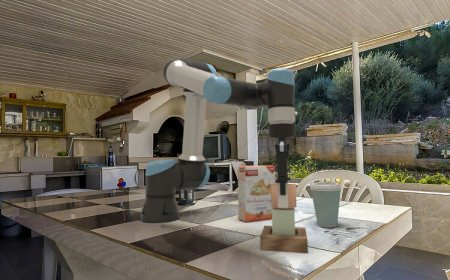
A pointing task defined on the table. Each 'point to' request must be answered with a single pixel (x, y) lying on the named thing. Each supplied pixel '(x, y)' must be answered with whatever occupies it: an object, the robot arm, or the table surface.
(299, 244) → the walnut base
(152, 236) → the table surface
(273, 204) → the peach block
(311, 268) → the table surface
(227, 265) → the table surface
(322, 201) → the disposable coffee cup
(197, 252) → the table surface
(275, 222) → the sage block
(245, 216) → the cracker box
